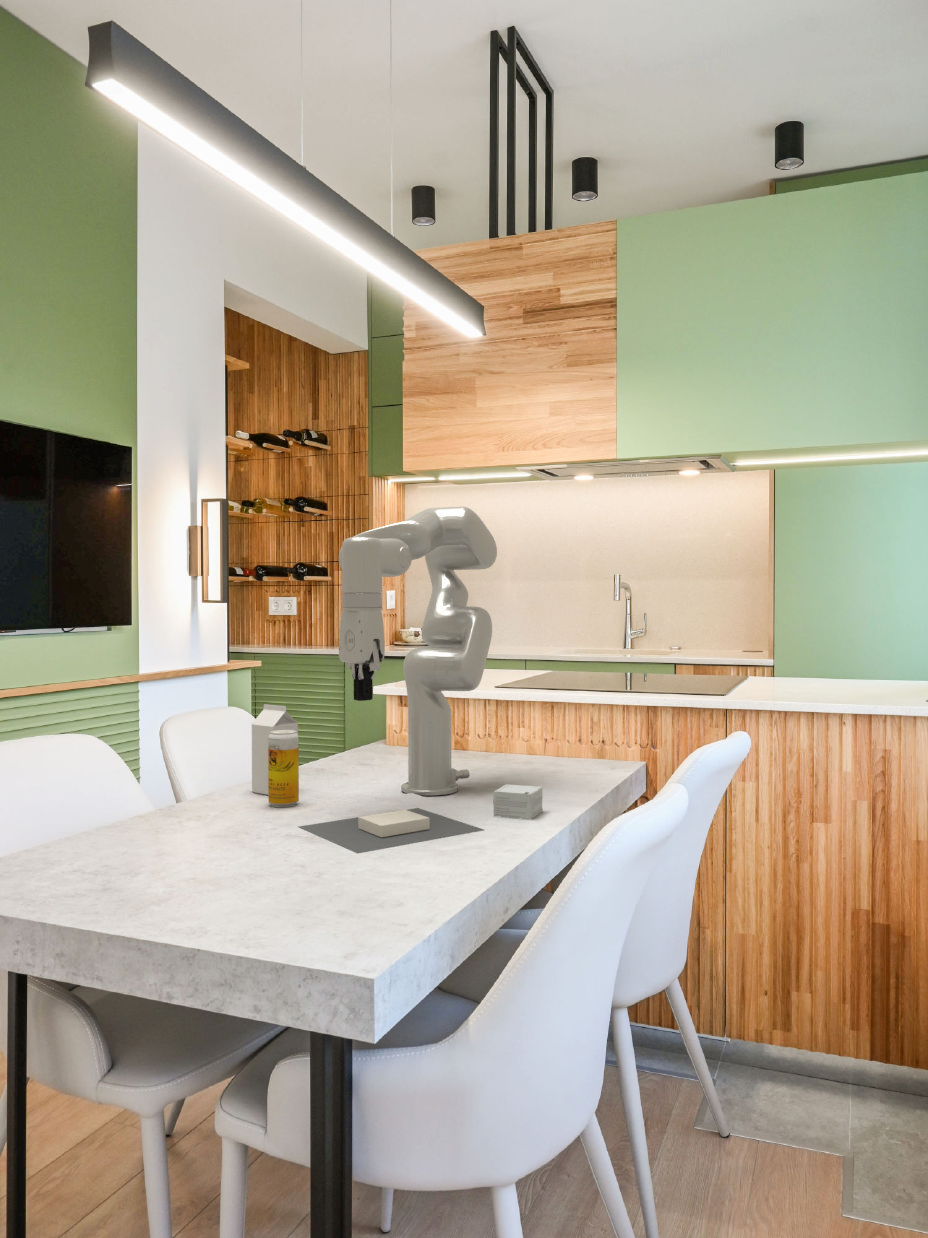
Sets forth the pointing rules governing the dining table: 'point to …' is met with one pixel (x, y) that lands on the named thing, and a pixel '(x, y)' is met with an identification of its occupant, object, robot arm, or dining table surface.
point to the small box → (518, 801)
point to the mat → (363, 841)
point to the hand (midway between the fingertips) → (363, 699)
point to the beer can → (283, 768)
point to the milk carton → (266, 742)
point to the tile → (393, 823)
